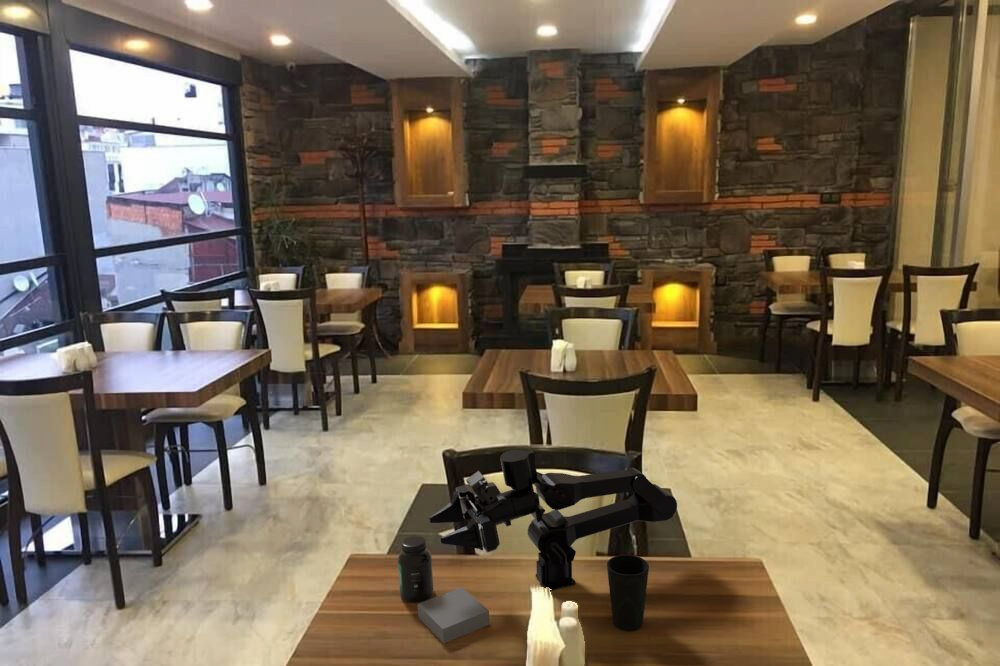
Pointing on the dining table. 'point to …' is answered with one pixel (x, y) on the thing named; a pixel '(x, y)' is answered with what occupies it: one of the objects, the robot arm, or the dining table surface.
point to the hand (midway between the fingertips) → (435, 530)
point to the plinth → (453, 615)
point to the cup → (627, 590)
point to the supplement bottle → (415, 570)
